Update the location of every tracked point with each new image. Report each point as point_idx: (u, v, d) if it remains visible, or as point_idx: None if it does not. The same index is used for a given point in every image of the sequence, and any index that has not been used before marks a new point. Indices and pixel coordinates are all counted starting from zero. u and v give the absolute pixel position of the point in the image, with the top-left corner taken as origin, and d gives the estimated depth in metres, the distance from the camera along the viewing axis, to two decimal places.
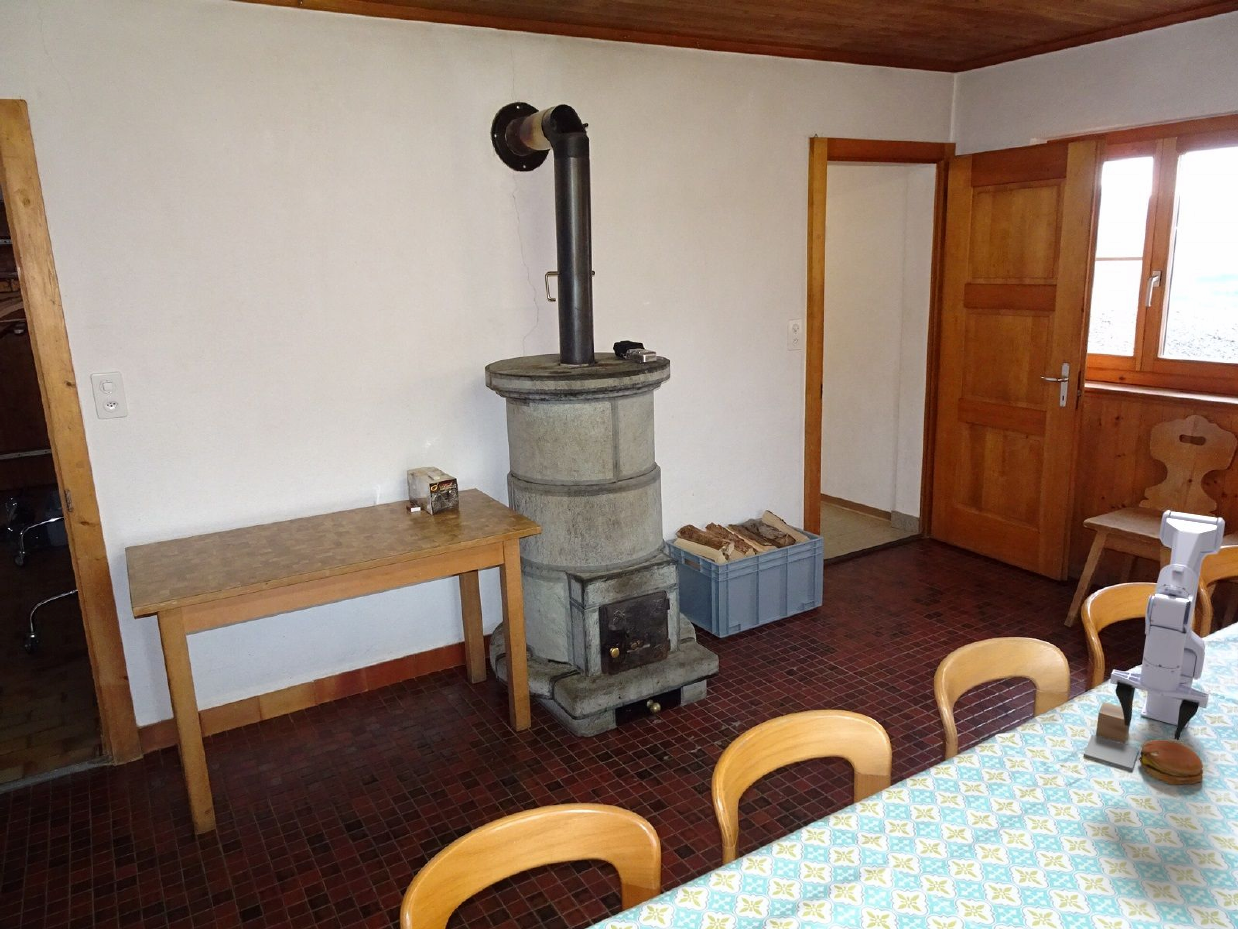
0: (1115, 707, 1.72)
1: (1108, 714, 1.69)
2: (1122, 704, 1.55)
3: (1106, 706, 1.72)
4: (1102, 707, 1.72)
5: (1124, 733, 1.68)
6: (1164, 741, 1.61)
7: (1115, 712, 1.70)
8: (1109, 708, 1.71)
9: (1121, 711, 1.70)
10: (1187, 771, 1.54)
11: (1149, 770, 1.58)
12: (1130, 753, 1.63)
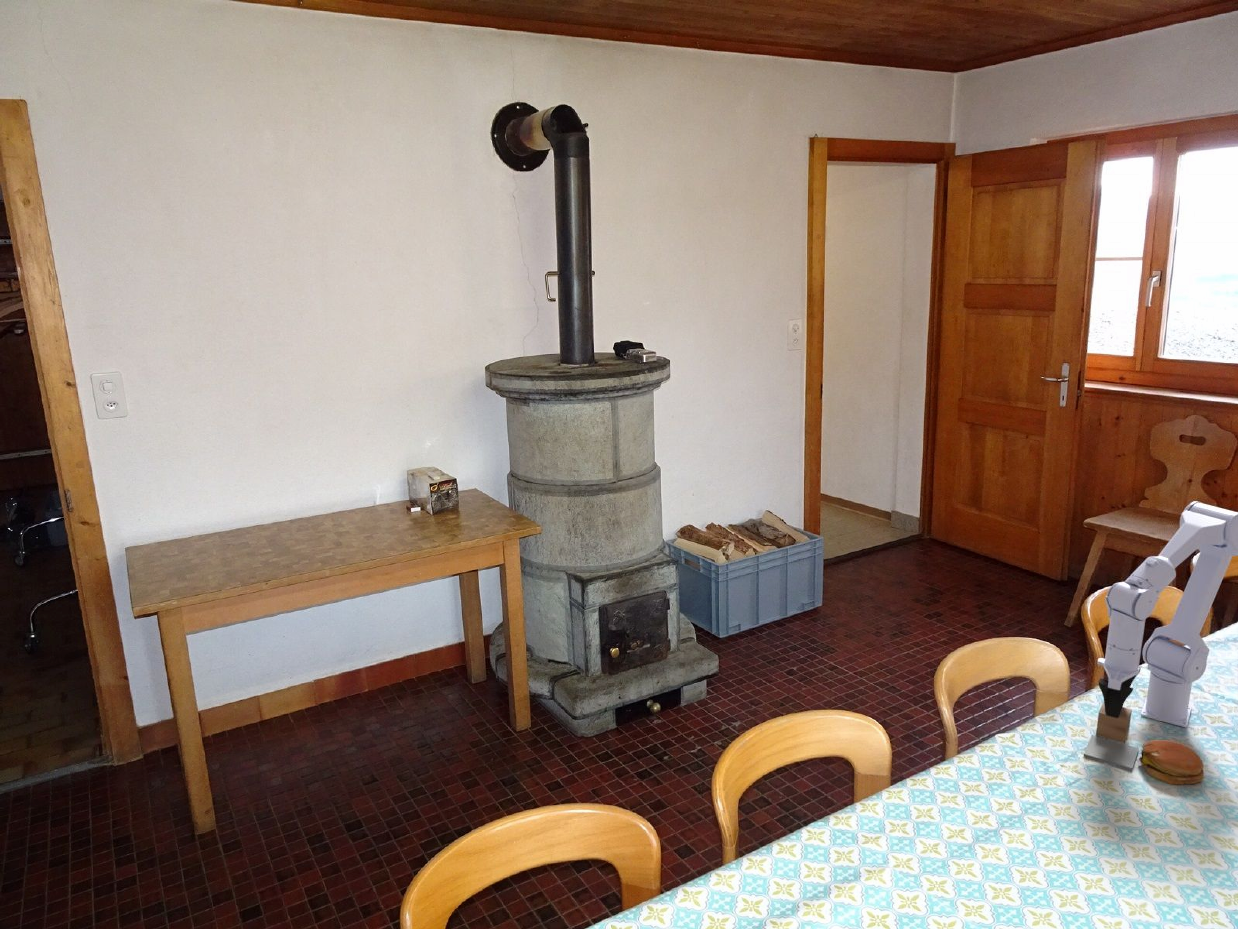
0: None
1: None
2: None
3: None
4: (1102, 707, 1.72)
5: (1124, 733, 1.68)
6: (1165, 741, 1.61)
7: None
8: None
9: (1121, 711, 1.70)
10: (1188, 772, 1.54)
11: (1150, 770, 1.58)
12: (1130, 753, 1.63)
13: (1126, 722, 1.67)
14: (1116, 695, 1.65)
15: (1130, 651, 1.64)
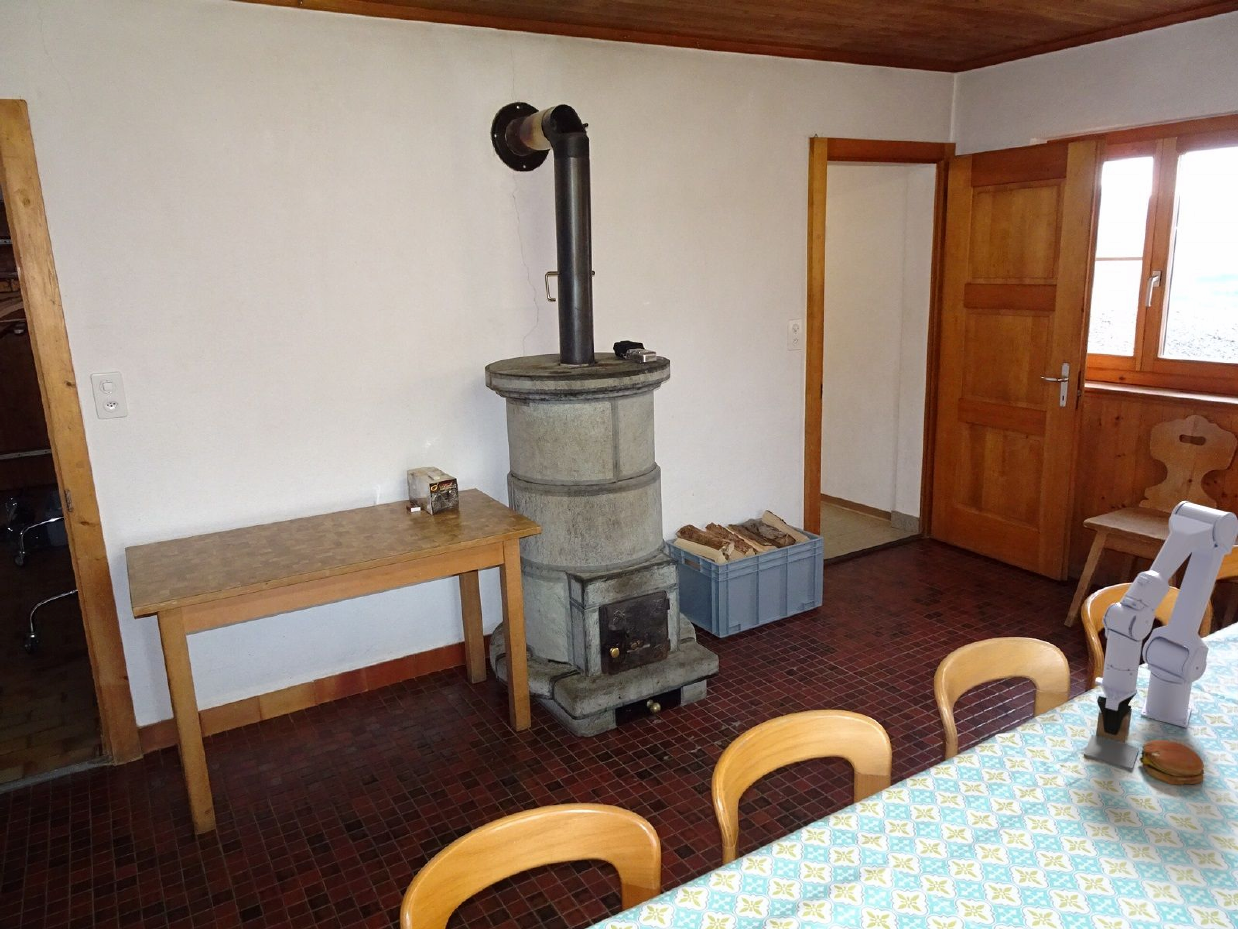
0: None
1: None
2: None
3: None
4: None
5: (1124, 733, 1.68)
6: (1165, 741, 1.61)
7: None
8: None
9: None
10: (1188, 772, 1.54)
11: (1150, 770, 1.58)
12: (1130, 753, 1.63)
13: (1126, 722, 1.67)
14: (1115, 712, 1.67)
15: (1127, 671, 1.65)
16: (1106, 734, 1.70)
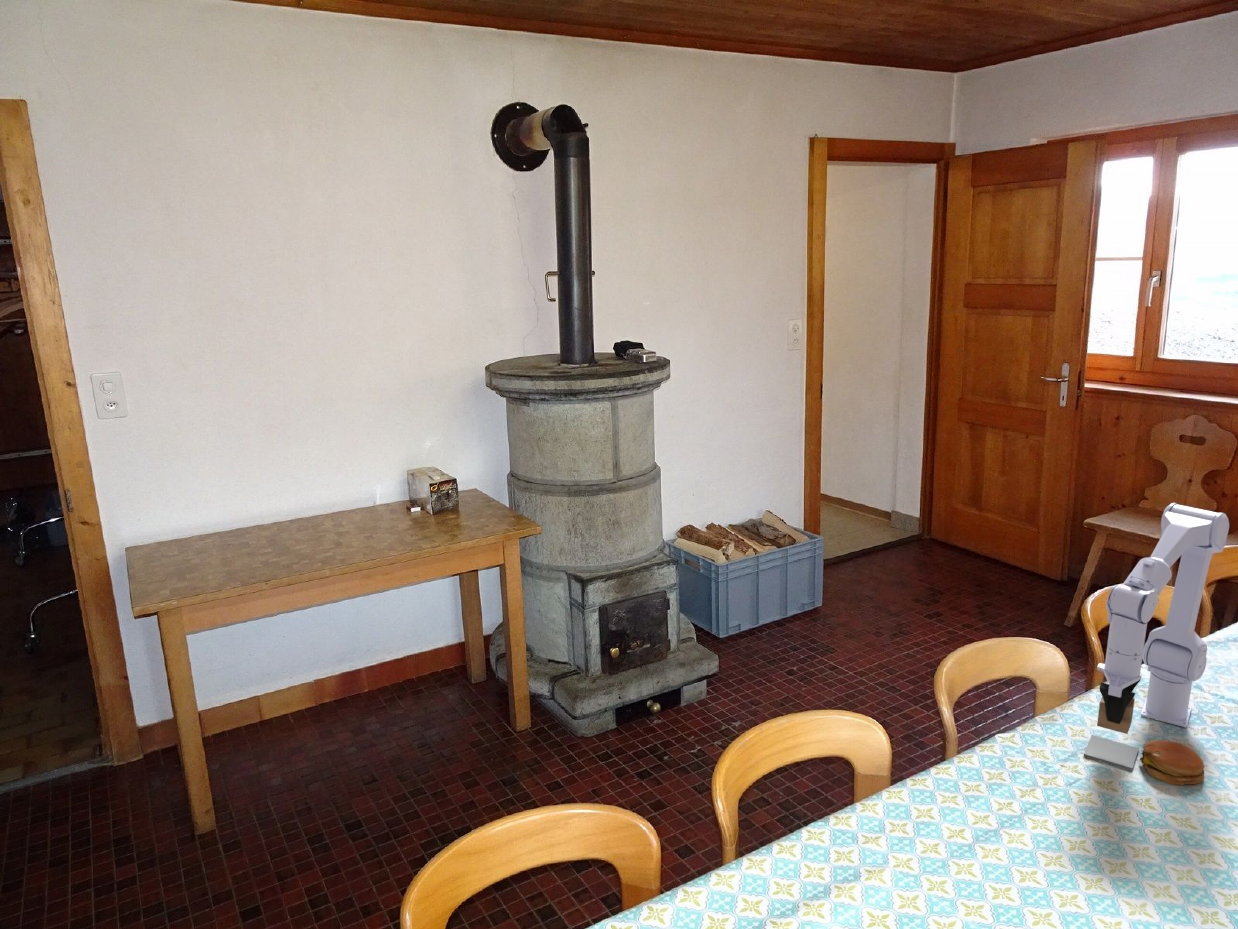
0: None
1: None
2: None
3: None
4: None
5: (1127, 723, 1.59)
6: (1165, 741, 1.61)
7: None
8: None
9: None
10: (1189, 772, 1.54)
11: (1150, 770, 1.58)
12: (1130, 753, 1.63)
13: (1129, 711, 1.59)
14: (1118, 700, 1.59)
15: (1131, 656, 1.57)
16: (1108, 725, 1.61)
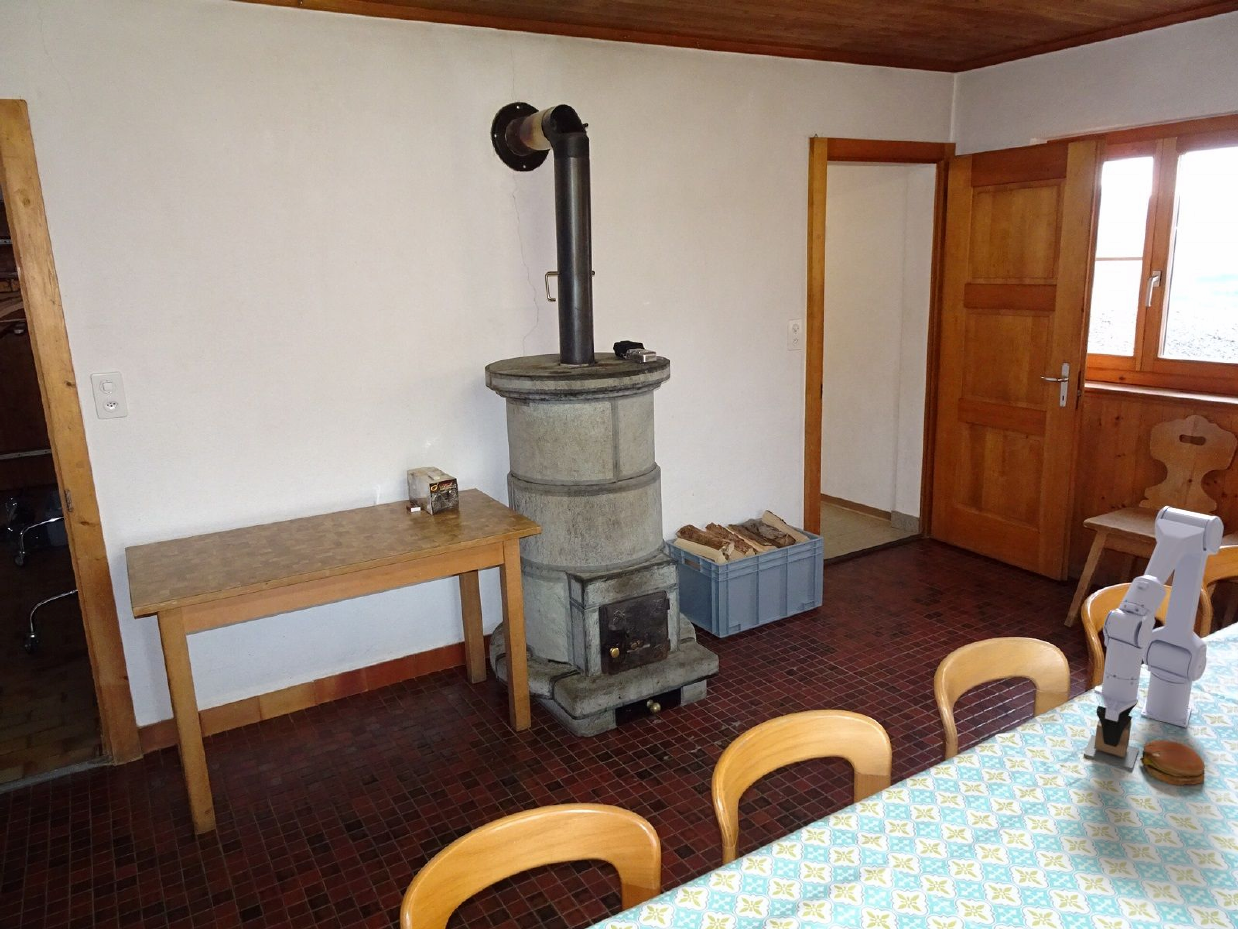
0: None
1: None
2: None
3: None
4: None
5: (1124, 746, 1.61)
6: (1166, 742, 1.60)
7: None
8: None
9: None
10: (1189, 772, 1.54)
11: (1151, 771, 1.58)
12: (1130, 753, 1.63)
13: (1126, 735, 1.60)
14: (1115, 723, 1.60)
15: (1128, 680, 1.58)
16: (1105, 748, 1.63)
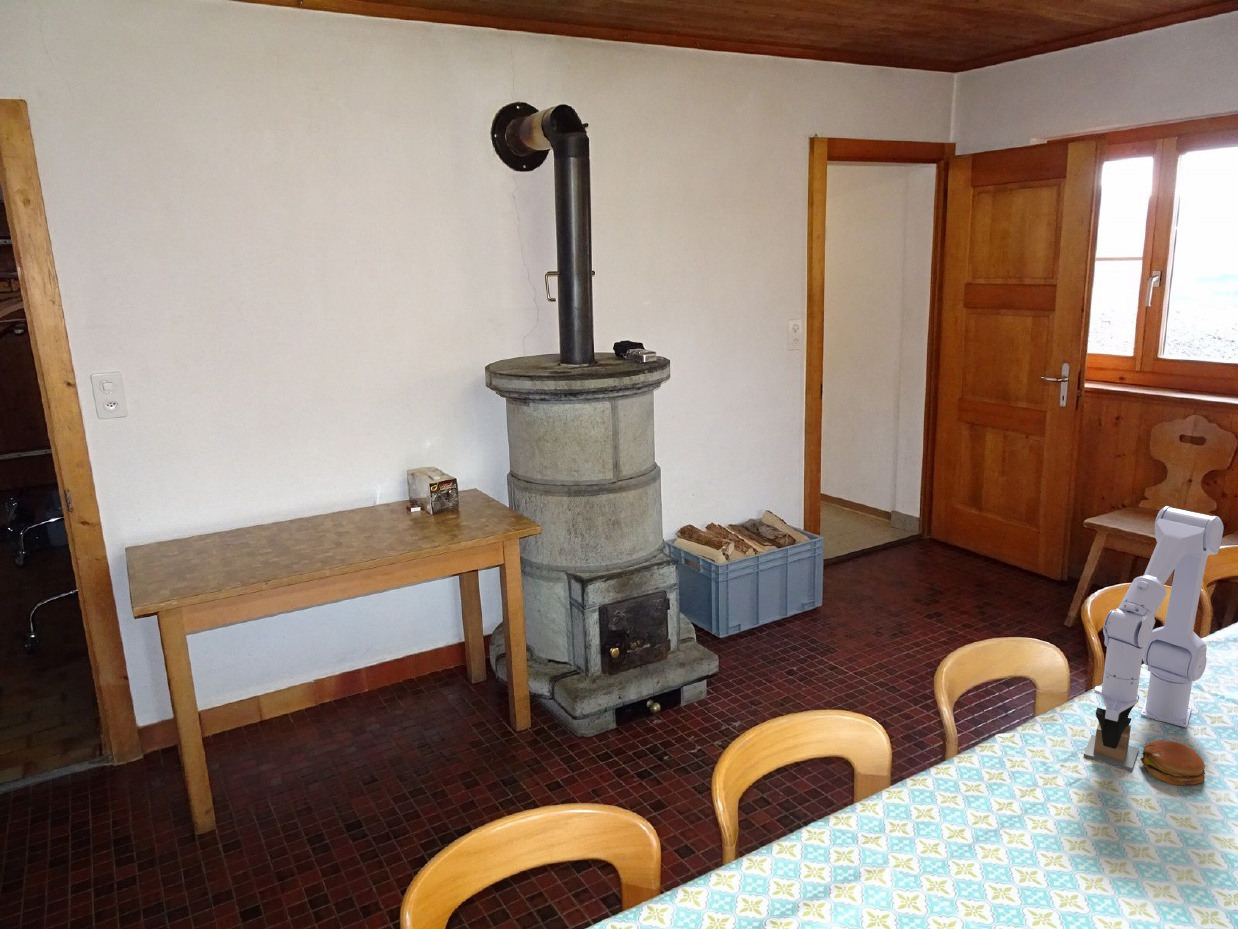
0: None
1: None
2: None
3: None
4: None
5: (1123, 750, 1.61)
6: (1166, 742, 1.60)
7: None
8: None
9: None
10: (1189, 772, 1.54)
11: (1151, 771, 1.58)
12: (1130, 753, 1.63)
13: (1125, 739, 1.60)
14: (1114, 725, 1.59)
15: (1128, 680, 1.58)
16: (1104, 752, 1.63)
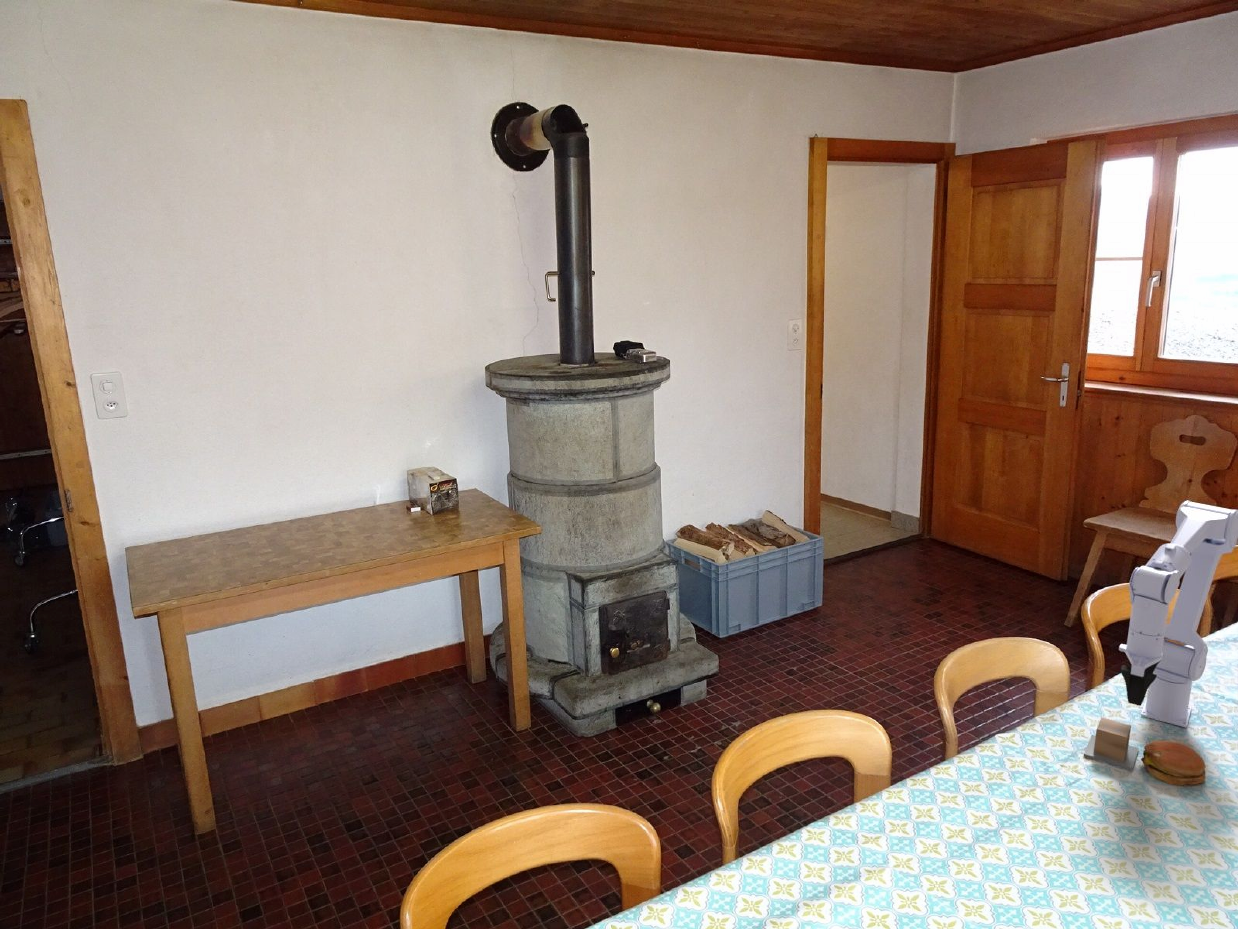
0: (1114, 723, 1.65)
1: (1106, 730, 1.62)
2: None
3: (1104, 721, 1.65)
4: (1100, 723, 1.65)
5: (1123, 750, 1.61)
6: (1167, 742, 1.60)
7: (1114, 728, 1.63)
8: (1107, 724, 1.64)
9: (1120, 727, 1.63)
10: (1190, 772, 1.54)
11: (1151, 771, 1.58)
12: (1130, 753, 1.63)
13: (1125, 739, 1.60)
14: (1139, 682, 1.60)
15: (1153, 636, 1.59)
16: (1104, 752, 1.63)
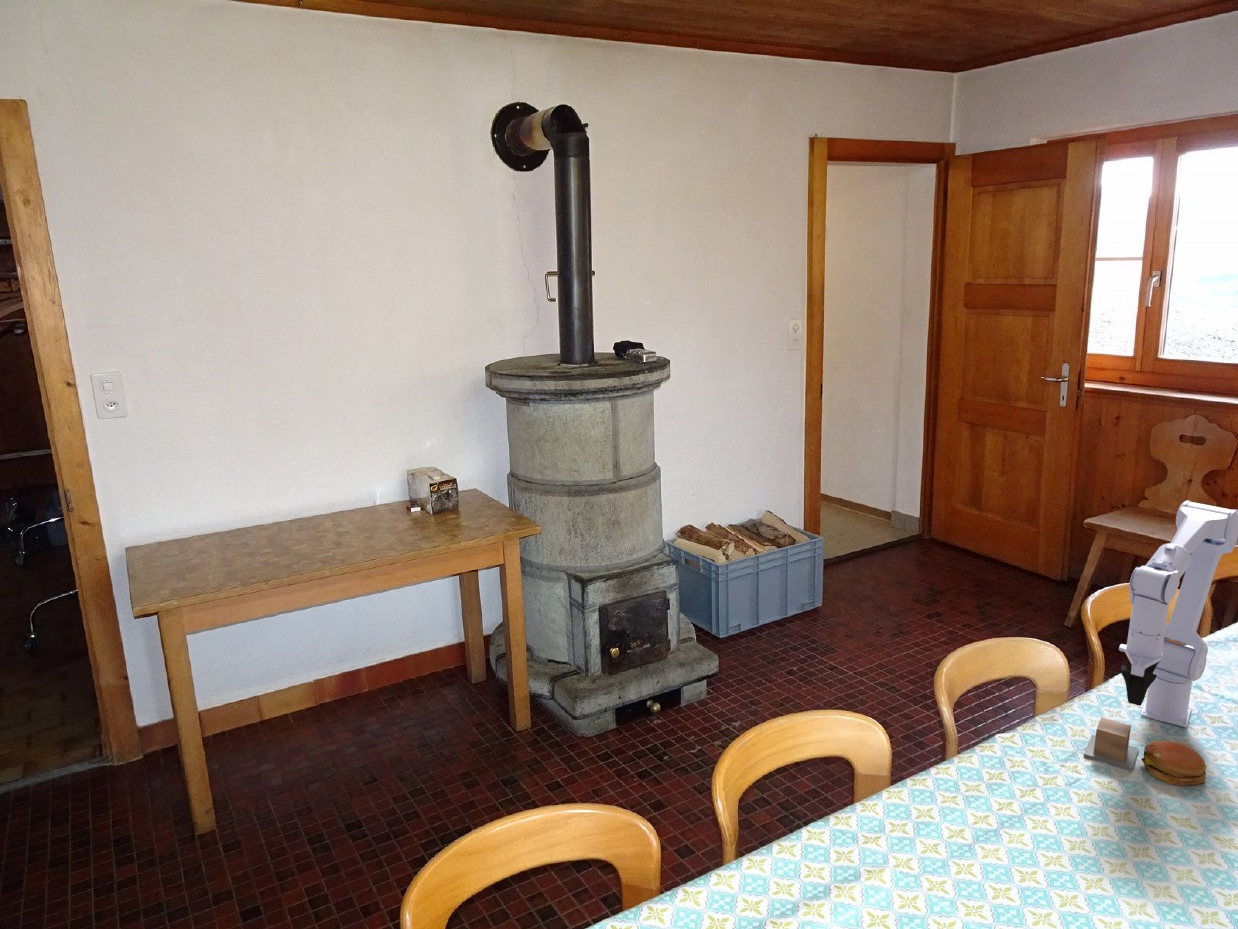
0: (1114, 723, 1.65)
1: (1106, 730, 1.62)
2: None
3: (1104, 721, 1.65)
4: (1100, 723, 1.65)
5: (1123, 750, 1.61)
6: (1167, 742, 1.60)
7: (1114, 728, 1.63)
8: (1107, 724, 1.64)
9: (1120, 727, 1.63)
10: (1190, 772, 1.54)
11: (1152, 771, 1.58)
12: (1130, 753, 1.63)
13: (1125, 739, 1.60)
14: (1139, 682, 1.60)
15: (1153, 636, 1.59)
16: (1104, 752, 1.63)
